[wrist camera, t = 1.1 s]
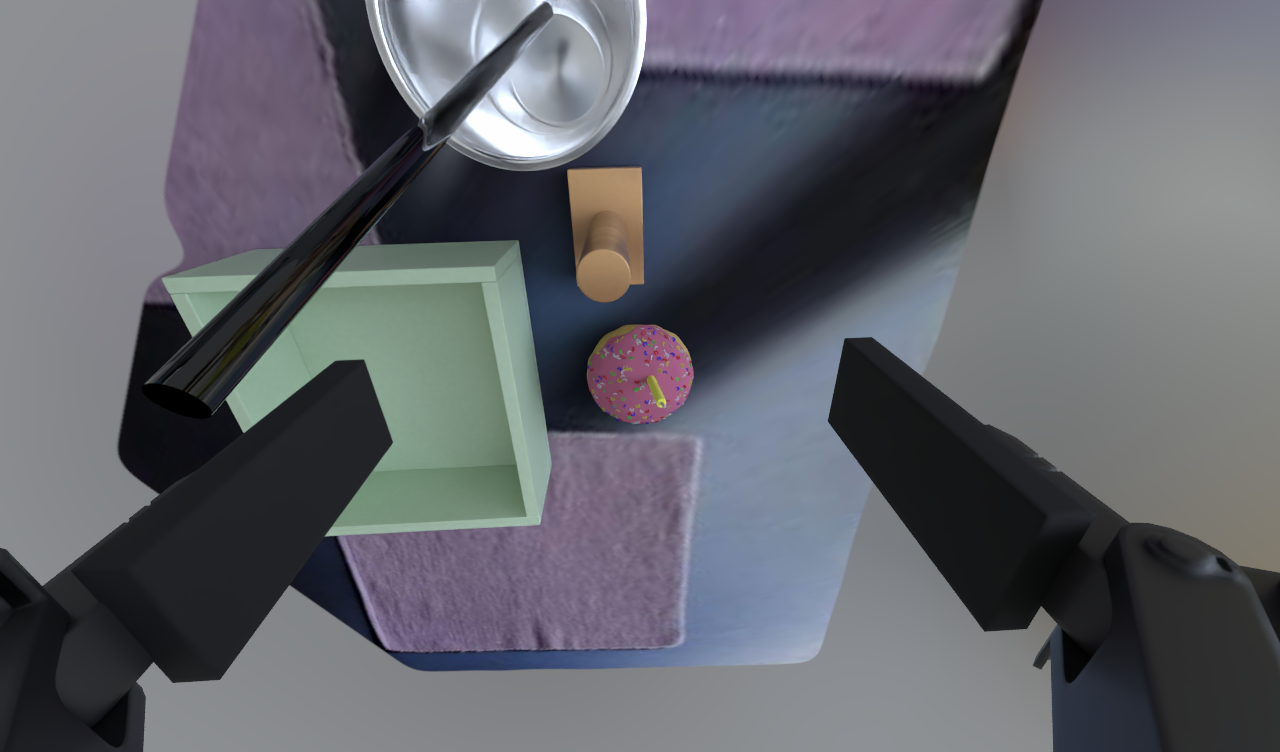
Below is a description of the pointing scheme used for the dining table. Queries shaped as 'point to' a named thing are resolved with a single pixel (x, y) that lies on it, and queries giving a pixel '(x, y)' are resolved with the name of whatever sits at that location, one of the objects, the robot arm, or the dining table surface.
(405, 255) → the tub
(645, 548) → the dining table surface
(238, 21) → the dining table surface
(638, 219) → the wooden stamp
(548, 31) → the tall metal cup
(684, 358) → the cupcake
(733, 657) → the dining table surface
